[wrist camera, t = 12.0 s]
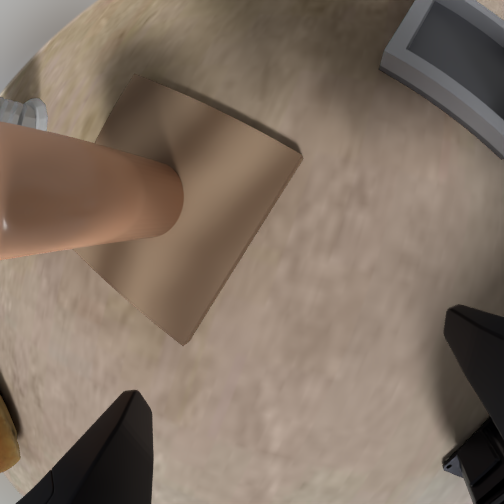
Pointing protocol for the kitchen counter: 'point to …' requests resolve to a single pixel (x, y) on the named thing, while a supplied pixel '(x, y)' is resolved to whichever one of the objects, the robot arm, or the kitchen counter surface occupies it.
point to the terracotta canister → (78, 193)
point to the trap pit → (454, 63)
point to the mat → (190, 202)
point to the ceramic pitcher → (7, 440)
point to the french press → (24, 113)
